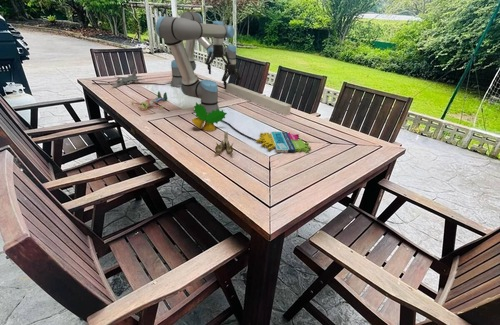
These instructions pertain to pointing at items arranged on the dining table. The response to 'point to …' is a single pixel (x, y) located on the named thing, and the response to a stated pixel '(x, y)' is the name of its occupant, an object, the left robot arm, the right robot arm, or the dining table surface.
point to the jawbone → (224, 145)
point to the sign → (283, 142)
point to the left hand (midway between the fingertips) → (231, 88)
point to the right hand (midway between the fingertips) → (218, 73)
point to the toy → (152, 102)
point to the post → (259, 99)
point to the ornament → (207, 117)
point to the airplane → (127, 79)
